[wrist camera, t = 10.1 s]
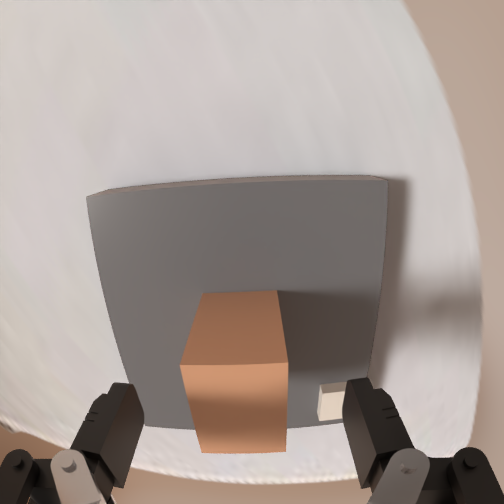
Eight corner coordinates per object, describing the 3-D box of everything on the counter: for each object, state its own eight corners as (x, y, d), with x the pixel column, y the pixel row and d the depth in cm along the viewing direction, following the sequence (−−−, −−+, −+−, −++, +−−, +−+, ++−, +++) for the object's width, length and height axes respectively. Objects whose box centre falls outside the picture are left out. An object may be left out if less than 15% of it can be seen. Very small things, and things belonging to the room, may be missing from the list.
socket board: (107, 189, 16) (78, 199, 13) (369, 175, 16) (395, 182, 13) (153, 401, 21) (142, 434, 17) (348, 396, 20) (359, 428, 17)
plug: (209, 273, 17) (179, 364, 10) (273, 270, 17) (288, 362, 10) (217, 348, 19) (201, 452, 11) (275, 346, 19) (285, 451, 11)
